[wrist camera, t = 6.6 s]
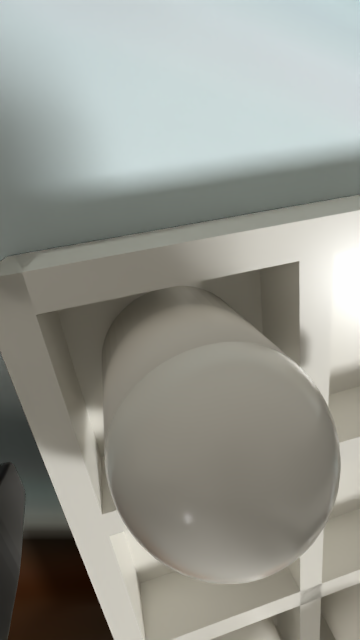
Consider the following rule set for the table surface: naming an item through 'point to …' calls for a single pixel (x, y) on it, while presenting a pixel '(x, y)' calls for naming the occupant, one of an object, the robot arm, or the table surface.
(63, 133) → the table surface
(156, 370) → the egg
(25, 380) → the carton
